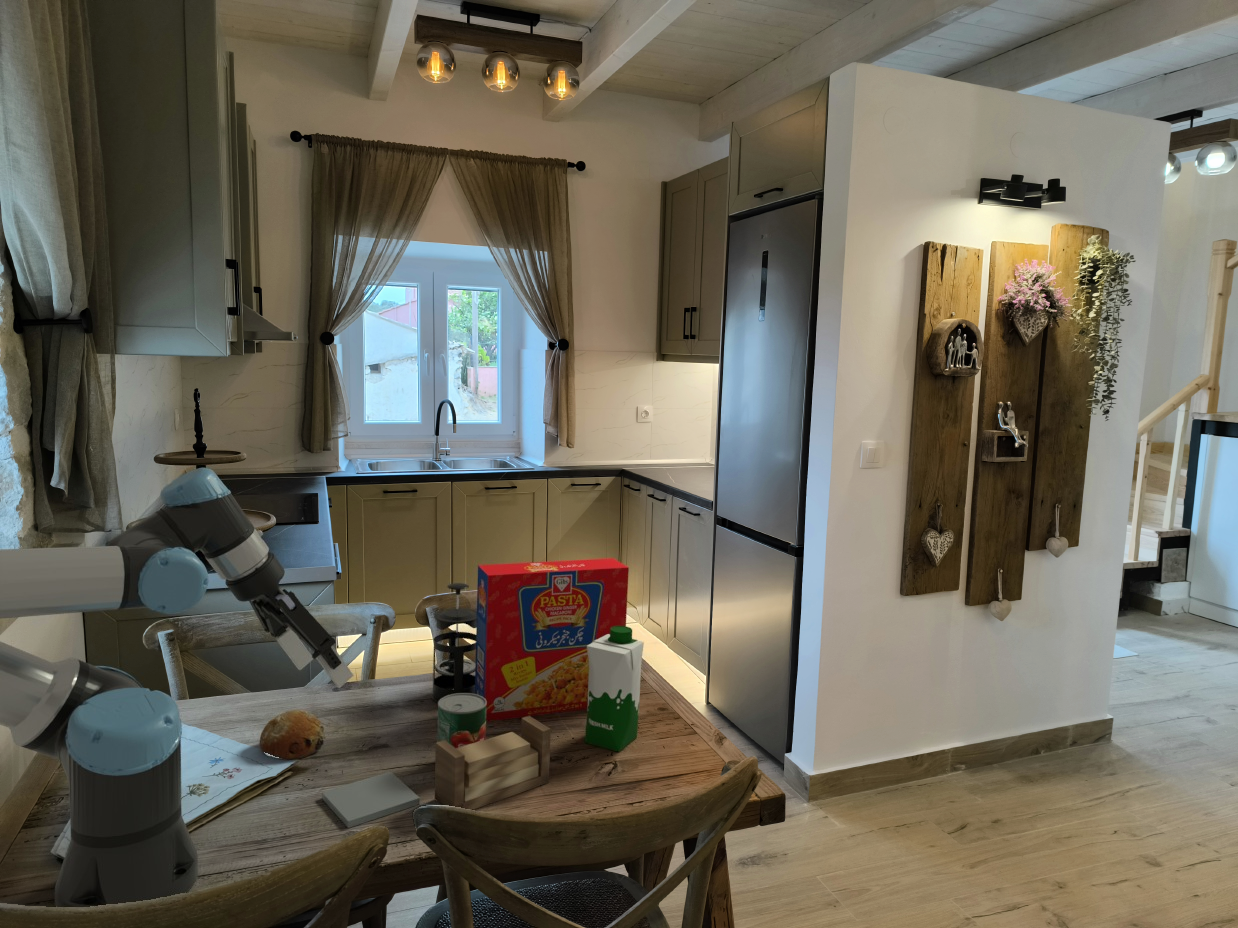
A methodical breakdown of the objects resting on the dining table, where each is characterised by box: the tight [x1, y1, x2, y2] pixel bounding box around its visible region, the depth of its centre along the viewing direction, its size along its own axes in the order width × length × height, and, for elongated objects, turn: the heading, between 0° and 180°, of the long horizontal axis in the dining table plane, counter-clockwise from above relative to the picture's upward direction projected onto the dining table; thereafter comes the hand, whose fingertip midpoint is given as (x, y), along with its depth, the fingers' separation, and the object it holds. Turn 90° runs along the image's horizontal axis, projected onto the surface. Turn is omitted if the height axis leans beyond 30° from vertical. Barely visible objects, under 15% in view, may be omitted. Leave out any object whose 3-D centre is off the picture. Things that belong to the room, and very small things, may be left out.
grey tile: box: [321, 771, 421, 829], centre depth 123 cm, size 11×10×1 cm
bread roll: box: [259, 709, 327, 761], centre depth 140 cm, size 10×10×8 cm
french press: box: [431, 582, 477, 705], centre depth 163 cm, size 12×9×23 cm
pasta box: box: [474, 557, 630, 723], centre depth 160 cm, size 28×8×28 cm, turn 113°
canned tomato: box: [437, 693, 487, 748], centre depth 135 cm, size 8×8×11 cm
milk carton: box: [584, 625, 645, 753], centre depth 147 cm, size 9×9×20 cm
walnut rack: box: [434, 716, 552, 810], centre depth 128 cm, size 17×6×9 cm, turn 130°
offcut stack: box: [456, 731, 539, 802], centre depth 128 cm, size 13×5×6 cm, turn 130°
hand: (325, 672), depth 127 cm, fingers open, 13 cm apart
